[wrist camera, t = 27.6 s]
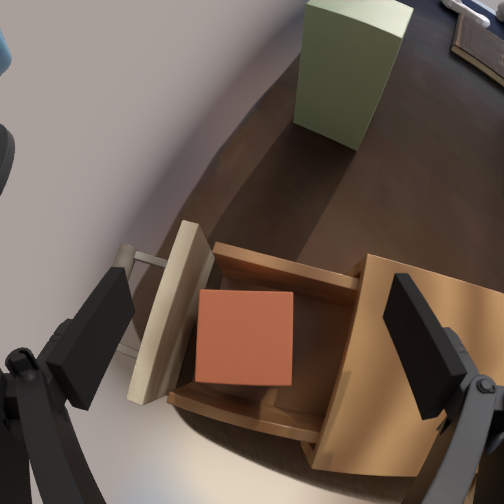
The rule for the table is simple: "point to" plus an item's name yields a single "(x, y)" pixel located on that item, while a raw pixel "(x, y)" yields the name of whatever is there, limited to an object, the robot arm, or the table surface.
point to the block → (244, 338)
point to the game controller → (466, 12)
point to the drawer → (242, 279)
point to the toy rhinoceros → (500, 12)
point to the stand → (346, 64)
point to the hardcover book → (479, 48)
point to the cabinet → (398, 373)
